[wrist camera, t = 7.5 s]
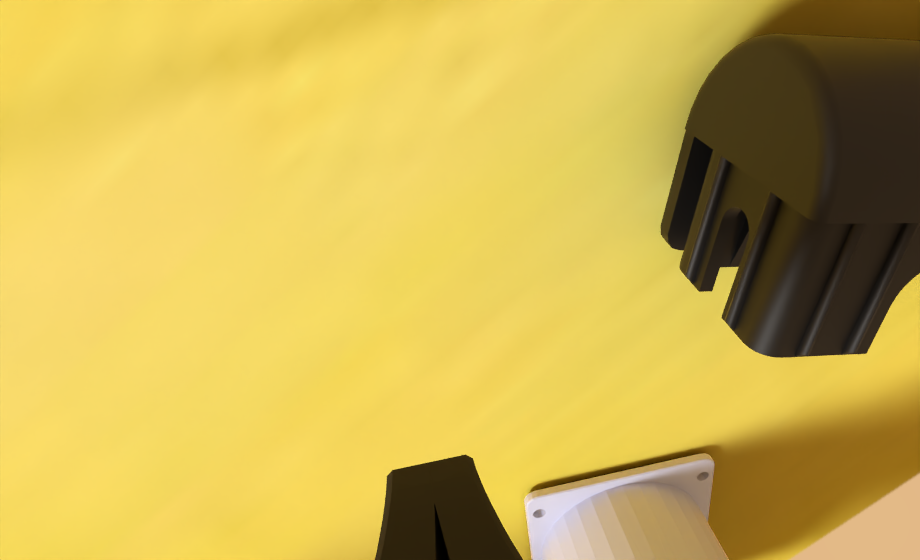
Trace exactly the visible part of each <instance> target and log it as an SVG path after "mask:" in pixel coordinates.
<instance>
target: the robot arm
mask: <svg viewBox="0 0 920 560" xmlns="http://www.w3.org/2000/svg"><path fill="white" fill-rule="evenodd" d="M714 467H715V463H714V461H713V459H712V458H711V456H710V455H709V454H706V453H701V454H696V455H691V456H687V457H682V458H678V459H674V460H669V461H665V462H660V463H656V464H651V465H647V466H642V467H638V468H634V469H629V470H625V471H620V472H616V473H611V474H607V475H602V476H598V477H594V478H589V479H585V480H580V481H576V482H571V483H567V484H562V485H558V486H554V487H549V488H545V489H540V490H536V491H533V492H531V493H529V494H528V495H527V496H526V497H525V500H524V503H525V511H526V519H527V527H528V535H529V543H530V551H531V559H532V560H729V559H728V557H727V555H726V553H725V552H724V550H723V548H722V546H721V545H720V543H719V541H718V539H717V538H716V536H715V534H714V532H713V531H712V529H711V527H710V525H709V524H708V516H709V508H710V500H711V492H712V483H713V475H714ZM375 560H523V559H522V557H521V556H520V554H519V552H518V551H517V549H516V548H515V546H514V544H513V543H512V541H511V539H510V538H509V536H508V534H507V532H506V531H505V529H504V527H503V525H502V523H501V522H500V520H499V518H498V516H497V514H496V512H495V510H494V508H493V506H492V504H491V502H490V500H489V498H488V496H487V494H486V492H485V490H484V487H483V485H482V483H481V480H480V478H479V475H478V473H477V470H476V467H475V464H474V461H473V458H471V457H469V456H467V455H462V456H457V457H453V458H448V459H443V460H438V461H434V462H429V463H424V464H420V465H415V466H410V467H405V468H401V469H396V470H392V471H391V473H390V474H389V475H388V476H387V487H386V498H385V507H384V514H383V521H382V527H381V532H380V538H379V543H378V548H377V553H376V558H375Z"/></svg>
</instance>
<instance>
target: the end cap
mask: <svg viewBox="0 0 920 560" xmlns="http://www.w3.org/2000/svg"><path fill="white" fill-rule="evenodd" d="M685 129H686V132H685V135H684V139H683V143H682V147H681V151H680V154H679V158H678V162H677V166H676V170H675V174H674V177H673V181H672V185H671V189H670V193H669V196H668V200H667V204H666V208H665V212H664V216H663V219H662V223H661V235H662V237H663V238H664V239H665V241H666V242H667V243H668V244H669V245H670V246H671V247H672V248H674V249H677V250H684V252H683V255H682V259H681V262H680V270H681V271H682V272H683V274H684V275H685V276H686V277H687V278H688V279H689V280H690V282H691V283H692V284H693V285H694V286H695V287H696V289H697V290H698V291H712V290H713V287H714V284H715V280H716V277H717V274H718V271H719V268H720V267H739V268H738V271H737V274H736V277H735V280H734V283H733V285H732V288H731V291H730V294H729V297H728V300H727V303H726V306H725V309H724V312H723V314H722V319H723V320H724V321H725V322H726V323H727V324H728V325H729V327H730V328H731V329H732V330H733V331H734V332H735V333H736V335H737V336H738V337H739V338H740V339H741V340H742V342H743V343H744V344H745V345H747V346H748V347H749V348H751V349H752V350H754V351H756V352H758V353H760V354H763V355H766V356H771V357H802V356H823V355H845V354H866V353H867V351H868V349H869V347H870V345H871V343H872V341H873V339H874V337H875V335H876V333H877V331H878V329H879V327H880V325H881V324H882V322H883V320H884V318H885V316H886V314H887V312H888V310H889V308H890V306H891V304H892V302H893V301H894V299H895V298H896V296H897V295H898V294H899V292H900V291H901V290H902V289H903V287H904V286H905V285H906V284H907V283H908V282H910V281H911V280H912V279H913V278H914V277H915V276H916V275H918V274H919V273H920V40H902V39H881V38H861V37H840V36H820V35H799V34H779V33H773V34H767V35H761V36H756V37H753V38H751V39H749V40H747V41H745V42H743V43H741V44H739V45H737V46H736V47H735V48H734V49H732V50H731V51H730V52H729V53H728V54H726V55H725V56H724V57H723V58H722V59H721V60H720V61H719V63H718V64H717V65H716V66H715V68H714V69H713V70H712V71H711V72H710V74H709V75H708V77H707V79H706V80H705V82H704V83H703V85H702V87H701V88H700V90H699V92H698V95H697V97H696V99H695V101H694V104H693V106H692V108H691V111H690V114H689V117H688V121H687V124H686V127H685Z"/></svg>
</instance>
